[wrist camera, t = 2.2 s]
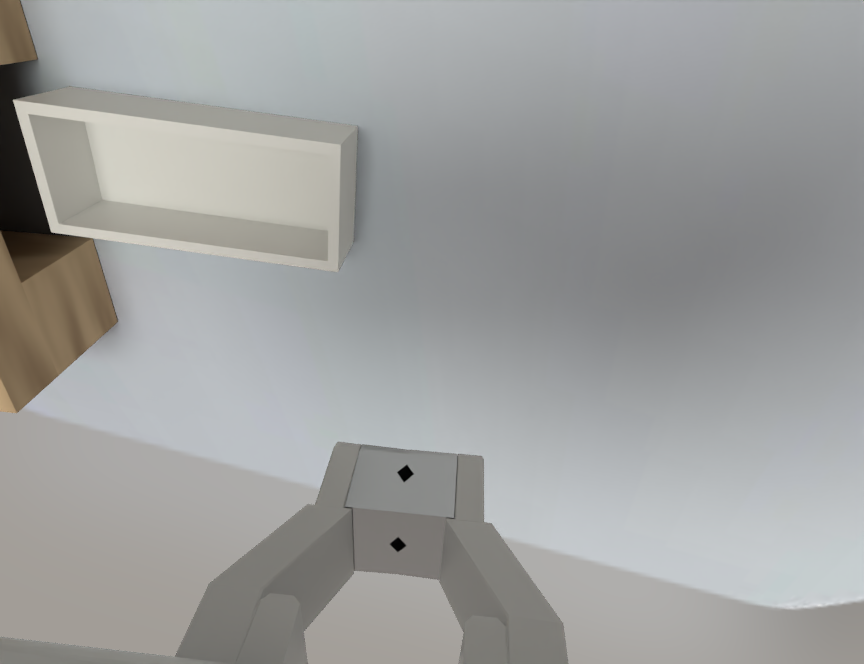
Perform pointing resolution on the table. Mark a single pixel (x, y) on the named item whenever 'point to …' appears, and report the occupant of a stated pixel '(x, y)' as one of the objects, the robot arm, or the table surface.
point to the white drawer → (193, 176)
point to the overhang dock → (43, 281)
